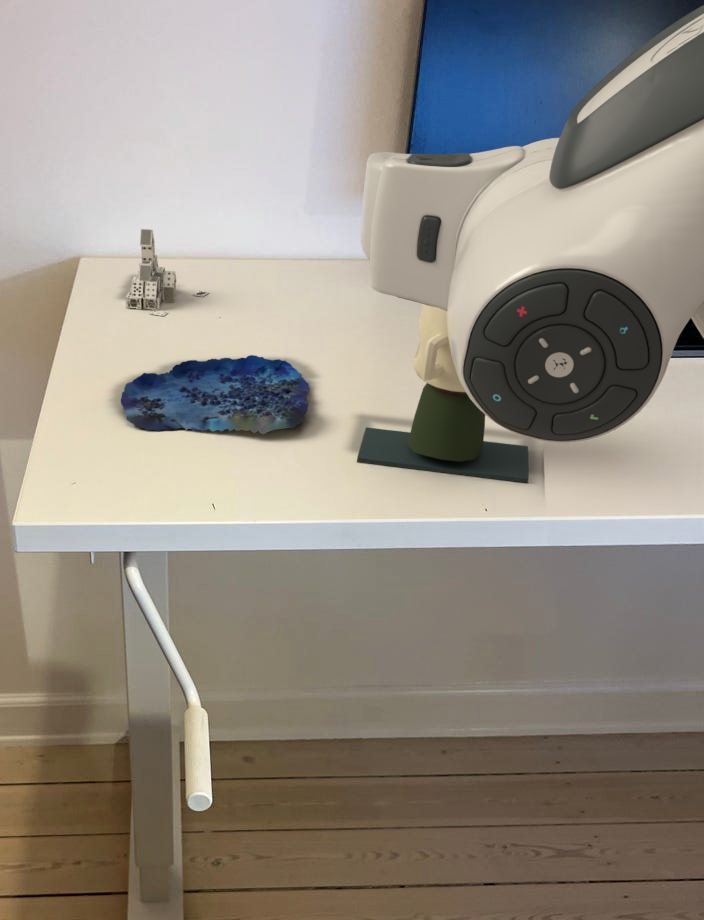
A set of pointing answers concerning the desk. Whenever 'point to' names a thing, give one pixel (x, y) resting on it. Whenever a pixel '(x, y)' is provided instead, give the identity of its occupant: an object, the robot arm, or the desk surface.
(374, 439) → the mat
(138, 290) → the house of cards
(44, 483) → the desk surface
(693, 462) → the desk surface
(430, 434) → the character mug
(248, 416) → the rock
